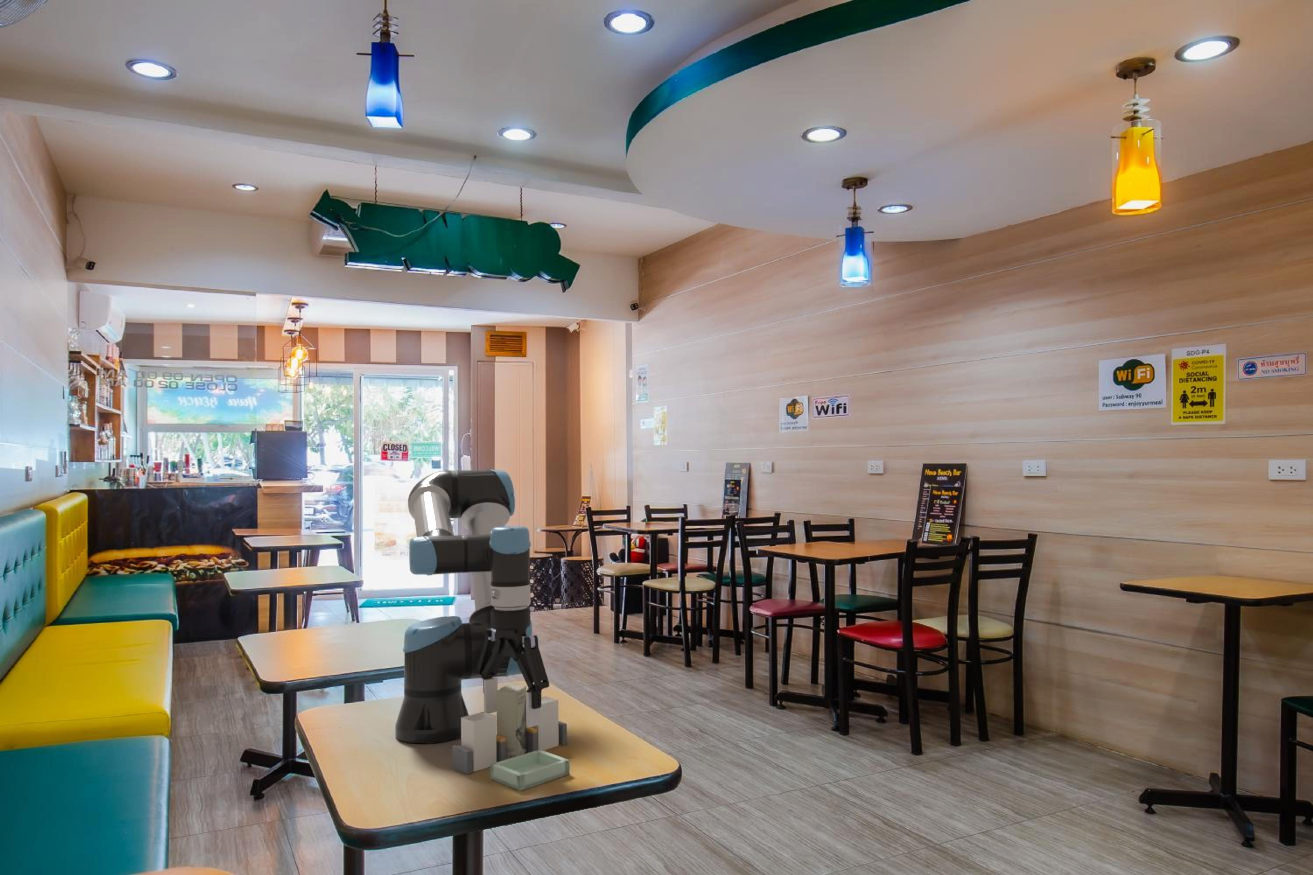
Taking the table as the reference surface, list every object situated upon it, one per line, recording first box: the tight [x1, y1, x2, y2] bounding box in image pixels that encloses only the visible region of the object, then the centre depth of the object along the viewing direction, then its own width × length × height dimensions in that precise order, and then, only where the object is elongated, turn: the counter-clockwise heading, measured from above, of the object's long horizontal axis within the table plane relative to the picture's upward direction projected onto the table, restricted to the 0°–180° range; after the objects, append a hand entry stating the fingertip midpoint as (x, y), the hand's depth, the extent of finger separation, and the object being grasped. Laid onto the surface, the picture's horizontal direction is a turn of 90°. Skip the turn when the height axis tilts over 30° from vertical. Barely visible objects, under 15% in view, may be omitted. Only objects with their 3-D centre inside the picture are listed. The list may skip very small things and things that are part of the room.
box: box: [496, 684, 528, 760], centre depth 168 cm, size 5×4×13 cm
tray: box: [489, 750, 570, 792], centre depth 156 cm, size 9×11×2 cm
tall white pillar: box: [532, 696, 560, 751], centre depth 173 cm, size 4×5×9 cm
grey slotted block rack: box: [451, 720, 568, 775], centre depth 168 cm, size 5×23×5 cm, turn 135°
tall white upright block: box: [460, 711, 497, 773], centre depth 162 cm, size 4×5×9 cm
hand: (511, 718), depth 168 cm, fingers open, 13 cm apart
